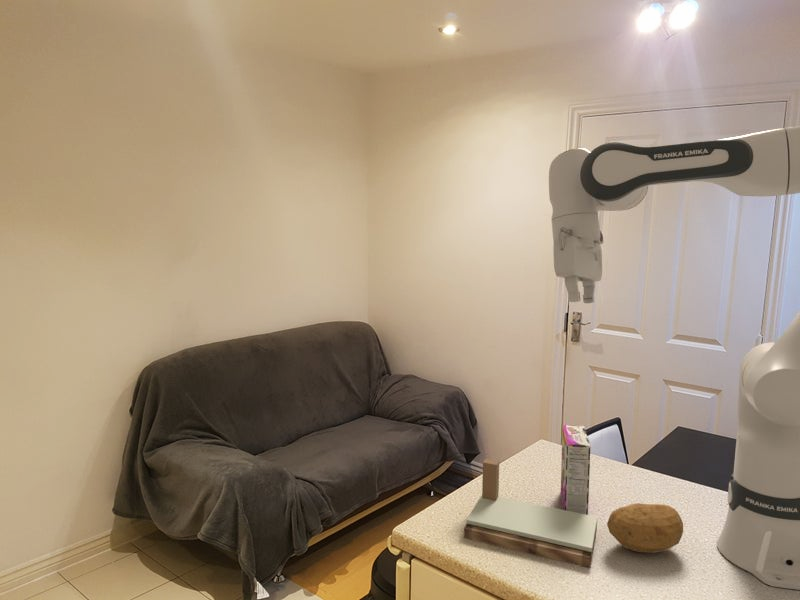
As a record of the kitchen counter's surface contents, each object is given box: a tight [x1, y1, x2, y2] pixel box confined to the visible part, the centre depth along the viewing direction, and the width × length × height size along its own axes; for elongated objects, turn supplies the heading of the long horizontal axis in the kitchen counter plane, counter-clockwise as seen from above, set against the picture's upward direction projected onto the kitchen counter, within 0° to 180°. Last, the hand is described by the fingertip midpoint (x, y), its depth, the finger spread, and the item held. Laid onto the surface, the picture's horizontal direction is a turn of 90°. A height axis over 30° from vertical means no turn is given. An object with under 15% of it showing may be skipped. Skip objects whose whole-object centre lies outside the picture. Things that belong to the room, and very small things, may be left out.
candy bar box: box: [560, 424, 591, 515], centre depth 118 cm, size 11×5×16 cm, turn 168°
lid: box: [466, 458, 598, 552], centre depth 108 cm, size 24×12×9 cm, turn 66°
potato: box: [606, 502, 684, 553], centre depth 103 cm, size 10×14×8 cm
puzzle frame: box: [463, 523, 598, 569], centre depth 108 cm, size 24×13×2 cm, turn 66°
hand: (582, 302), depth 107 cm, fingers open, 8 cm apart
